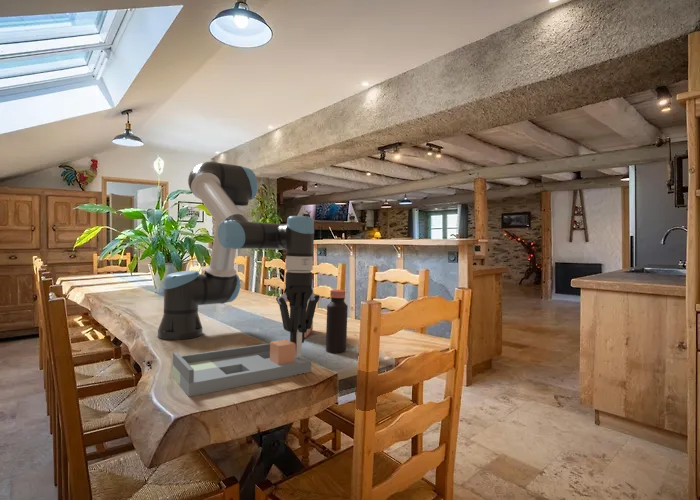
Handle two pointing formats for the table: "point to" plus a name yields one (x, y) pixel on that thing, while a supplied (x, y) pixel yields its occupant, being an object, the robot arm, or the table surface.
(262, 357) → the board
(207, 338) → the table surface
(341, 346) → the bottle
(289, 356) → the terracotta block
